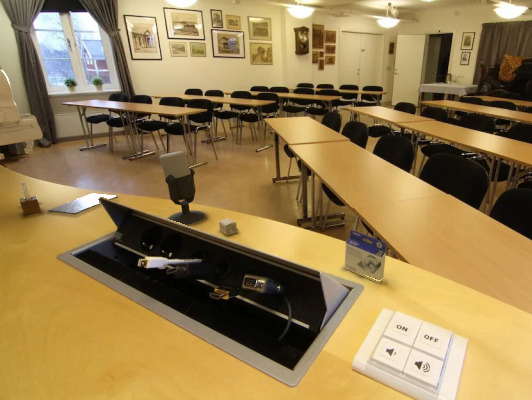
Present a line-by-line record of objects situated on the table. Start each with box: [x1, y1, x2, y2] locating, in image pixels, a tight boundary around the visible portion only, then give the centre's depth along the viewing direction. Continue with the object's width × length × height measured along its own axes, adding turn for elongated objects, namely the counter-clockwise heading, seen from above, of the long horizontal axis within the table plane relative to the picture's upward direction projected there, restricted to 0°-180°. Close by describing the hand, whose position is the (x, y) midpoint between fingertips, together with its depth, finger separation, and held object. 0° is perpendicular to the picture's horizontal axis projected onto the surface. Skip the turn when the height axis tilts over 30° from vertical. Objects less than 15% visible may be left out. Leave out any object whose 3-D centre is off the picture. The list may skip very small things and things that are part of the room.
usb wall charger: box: [218, 217, 239, 236], centre depth 107 cm, size 4×7×4 cm, turn 44°
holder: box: [19, 195, 42, 217], centre depth 119 cm, size 5×5×6 cm
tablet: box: [47, 193, 118, 216], centre depth 129 cm, size 13×20×1 cm, turn 168°
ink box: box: [343, 229, 388, 285], centre depth 85 cm, size 12×2×12 cm, turn 50°
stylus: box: [20, 181, 32, 200], centre depth 118 cm, size 1×1×12 cm
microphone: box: [158, 150, 206, 227], centre depth 114 cm, size 13×13×25 cm
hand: (15, 156), depth 113 cm, fingers open, 8 cm apart
